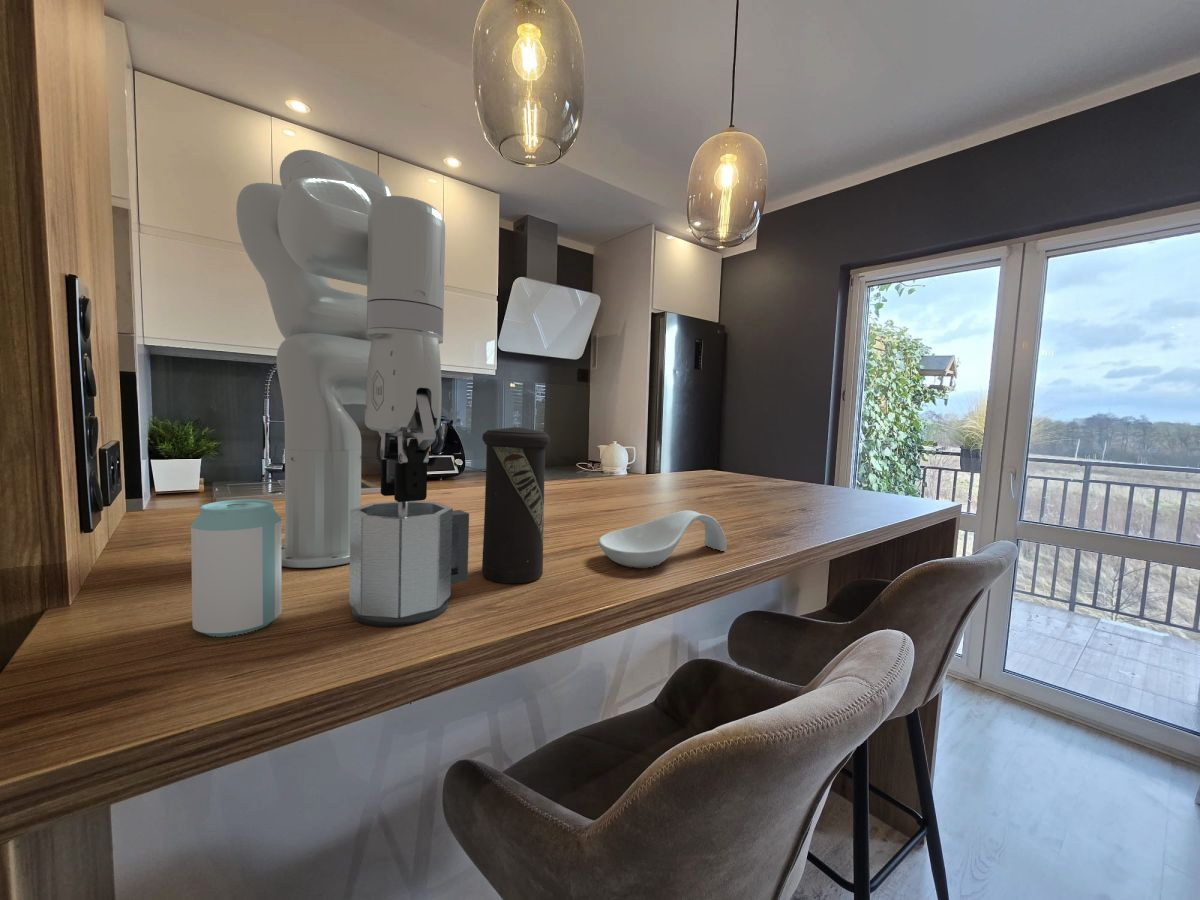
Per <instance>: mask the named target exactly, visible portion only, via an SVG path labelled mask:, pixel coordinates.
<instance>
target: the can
mask: <svg viewBox="0 0 1200 900" xmlns="http://www.w3.org/2000/svg"><path fill="white" fill-rule="evenodd" d="M199 510H200V511H199V514H197V515H198V516H196V518H194V520H193V521H192V523H191V524H190V535H191V536H190V537H191V539H190V540H191V542H190V543H191V544H190V545H191V548H190V549H191V551H190V552H191V600H192V602H191V605H192V606H191V609H192V610H191V611H192V613H191V615H192V617H191V619H192V620H191V623H192V629H193V630H195V631H197V632H199V633H201V634H204V635H207V636H208V637H214V638H225V637H226V636H228V637H235V636H234V635H236V636H239V635H238V634H242V635H244V634H243V633H246V632H250V633H252V632H251V631H253V632H255V631H254V630H256V631H258V629H259V630H261V629H262V628H265V627H266V626H268V625H269V624H271V622H273V621H274V620H276V619H277V618H278V617H279V616H280V615H281V614H282V566H281V546H282V517H281V516H280V514H279V513H278V512H277V510H276V509H275V508H274V502H273V501H270V500H265V499H232V500H221V501H215V502H210V503H209V502H208V503H206V504H202V505H201V506H200V507H199ZM260 628H261V629H260ZM246 634H247V633H246ZM232 635H233V636H232ZM215 636H216V637H215ZM226 638H227V637H226Z"/></svg>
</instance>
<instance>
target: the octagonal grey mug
mask: <svg viewBox="0 0 1200 900" xmlns="http://www.w3.org/2000/svg"><path fill="white" fill-rule="evenodd" d="M453 509H454V508H453V507H451V506H448V505H446V504H443V503H441V502H436V501H423V500H420V501H408V517H398V502H397V501H383V502H374V503H373V502H371V503H367V504H365V505H361V507H358V508H355V509H352V510H350V563H349V598H348V599H349V604H350V606H351V617H352V618H353V620H354V621H356V622H357V623H359V624H363V625H366V626H372V627H378V628H380V627H381V628H394V627H395V628H396V627H398V628H399V627H405V626H411V625H417V624H421V623H425V622H427V621H430V620H432V619H434V618H437V617H438V616H440V615H442V614H444V613H445V612H446V611H447V609H448V607H449V598H450V597H451V589H452V588H451V587H452V585H453V584H458V583H462V582H467V581H468V580H469V579H468V577H469V576H468V571H469V570H468V569H469V538H470V537H469V536H470V534H469V533H470V528H469V527H470V513H469V512H466V511H464V510H461V509H458V510H457V509H456V510H453Z"/></svg>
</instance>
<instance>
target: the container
mask: <svg viewBox="0 0 1200 900" xmlns="http://www.w3.org/2000/svg"><path fill="white" fill-rule="evenodd" d="M481 438H482V441H483V443H484V444H485V445H486V452H485V453H486V455H485V456H486V460H485V465H486V467H485V486H484V487H485V489H484V490H485V491H484V493H485V494H484V517H483V542H482V558H481V559H482V560H481V561H482V562H481V565H482V567H481V569H482V570H481V571H482V575H483V577H484V578H486V579H487V580H488V581H492V582H496V583H500V584H501V583H502V584H503V583H504V584H523V583H530V582H535V581H536V580H538V579H540V578H541V577H542V575H543V574H544V573H543V569H544V568H543V567H544V527H545V525H544V524H545V523H544V522H545V521H544V520H545V472H546V471H545V469H546V447H548V445H549V444H550V443H551V437H550V436H549V434H547V432H545V431H542V430H536V429H529V428H525V427H503V428H502V427H501V428H497V429H487V430H486V431H485V432H484V433H483V434H482V437H481Z"/></svg>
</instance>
